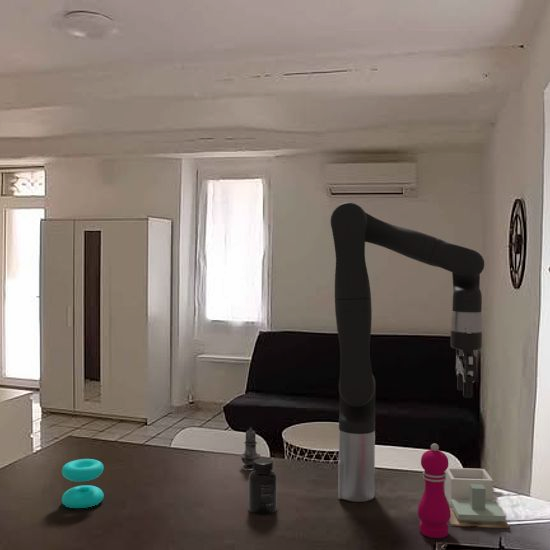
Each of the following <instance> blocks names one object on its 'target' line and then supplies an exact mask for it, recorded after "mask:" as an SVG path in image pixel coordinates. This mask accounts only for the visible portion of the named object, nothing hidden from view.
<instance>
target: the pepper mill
mask: <svg viewBox="0 0 550 550" xmlns="http://www.w3.org/2000/svg"><path fill="white" fill-rule="evenodd" d="M439 449H440V446H439V444H437V443H432V444H431V445H430V449H428V450H426V451H424V452H423V454H422V455H421V458H420V465H421V467H422V469H423V471H422V474H423V475H422V478H423V479H424V491H423V494H422V497H421V499H420V501H419V503H418V506H417V516H418V518H419V520H420V522H419V533H421V535H423V536H426V537H428V538H431V539H432V538H434V539H442V538H445V537H447V536H449V524H447V523H448V522H449V520H450V518H451V512H450V508H451V506H450V504H449V502H448V500H447V498H446V496H445V480H446V473H445V470H446V469H447V468H449V458H448V456H447V455H446V454H445V452H443V451H441V450H439Z"/></svg>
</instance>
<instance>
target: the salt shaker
mask: <svg viewBox="0 0 550 550" xmlns="http://www.w3.org/2000/svg"><path fill="white" fill-rule="evenodd" d="M248 428H249V430H246V432H245V442H244V444H245V446H244V448H245V451H244V453H241V454H240V458H241V461H242V463H243V465H242V466H243V468H244V469H253V461H254V460H255V459H261V454H260V453H258V452H257V449H256V448H257V446H256V445H257V441H256V440H257V439H256V438H257V437H256V431H255V430H254V429H253V428H252V427H251V426H250V427H248Z"/></svg>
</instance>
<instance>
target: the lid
mask: <svg viewBox="0 0 550 550" xmlns="http://www.w3.org/2000/svg"><path fill="white" fill-rule="evenodd" d="M451 506H452V507H451ZM451 506H450V507H451V508H453V510H454V512H455V514H456V516H457V518H458V520H463V522H488V523H497V521H506V522H507V519H506V517H507V516H506V514H505V513H504V511H503V510H502V509H501V507H500V505H499V504H498V503H497V501H496V500H493V501H487V500H485V487H484V486H483V484H470V497H469V500H459V499H451Z"/></svg>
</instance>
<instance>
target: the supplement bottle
mask: <svg viewBox="0 0 550 550" xmlns="http://www.w3.org/2000/svg"><path fill="white" fill-rule="evenodd" d="M253 470H254V471H251V472H250V473H249V475H248V511H249V512H250V513H251V514H254V515H256V514H257V516H258V515H259V516H267V515H268V514H269V515H271V514H274V513H275V512H276V511H277V508H278V475H277V473H276V472H275V470H274V461H273V460H272V459H270V458H261V457H260V458H259V459H255V460H254V461H253ZM273 470H274V471H273ZM269 515H268V516H269Z"/></svg>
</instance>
